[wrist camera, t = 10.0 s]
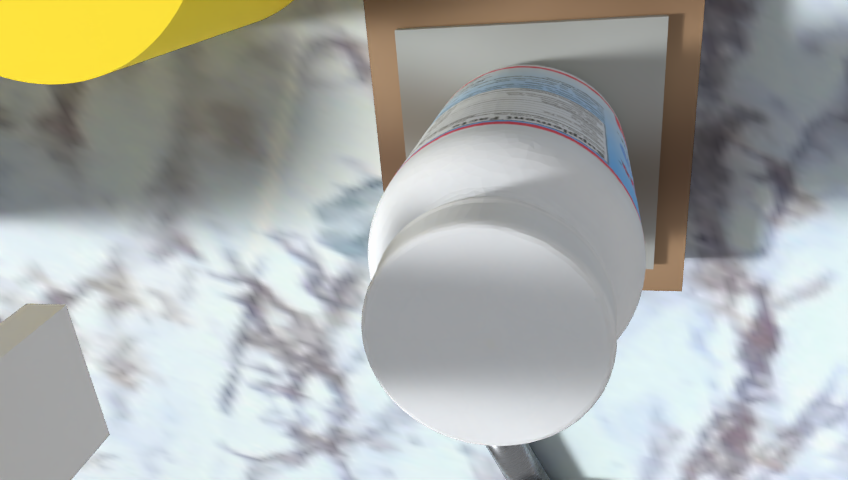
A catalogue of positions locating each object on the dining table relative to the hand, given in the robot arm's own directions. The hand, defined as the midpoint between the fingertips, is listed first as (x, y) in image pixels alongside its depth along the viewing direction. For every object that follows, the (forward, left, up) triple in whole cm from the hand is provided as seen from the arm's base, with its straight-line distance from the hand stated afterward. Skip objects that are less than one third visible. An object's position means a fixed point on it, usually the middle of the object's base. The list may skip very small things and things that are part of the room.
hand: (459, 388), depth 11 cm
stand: (0, 0, -16) cm, 16 cm away
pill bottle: (0, 0, -13) cm, 13 cm away
